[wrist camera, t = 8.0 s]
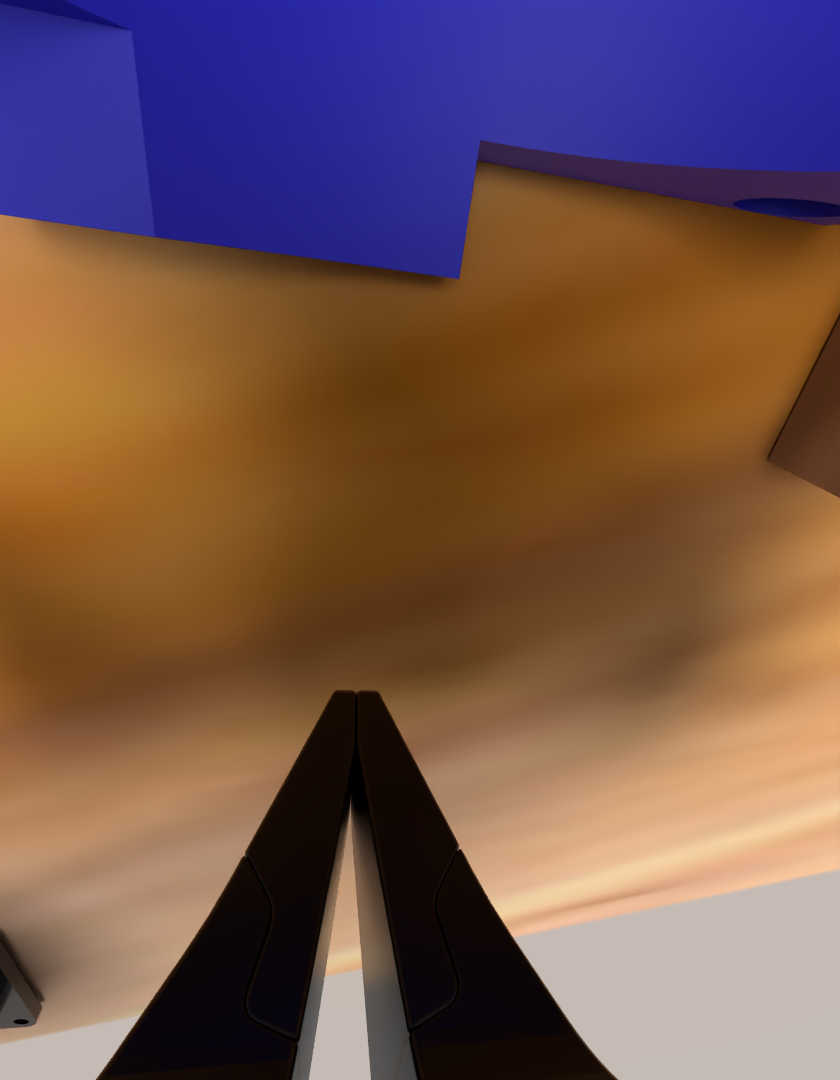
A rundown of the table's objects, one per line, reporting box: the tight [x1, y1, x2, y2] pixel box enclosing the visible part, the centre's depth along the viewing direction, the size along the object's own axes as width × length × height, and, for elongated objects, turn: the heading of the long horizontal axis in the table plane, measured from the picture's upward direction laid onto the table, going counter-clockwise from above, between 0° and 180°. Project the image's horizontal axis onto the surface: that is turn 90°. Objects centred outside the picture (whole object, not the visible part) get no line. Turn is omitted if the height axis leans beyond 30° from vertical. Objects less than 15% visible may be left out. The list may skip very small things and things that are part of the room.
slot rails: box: [768, 318, 840, 498], centre depth 6 cm, size 8×19×2 cm, turn 83°
